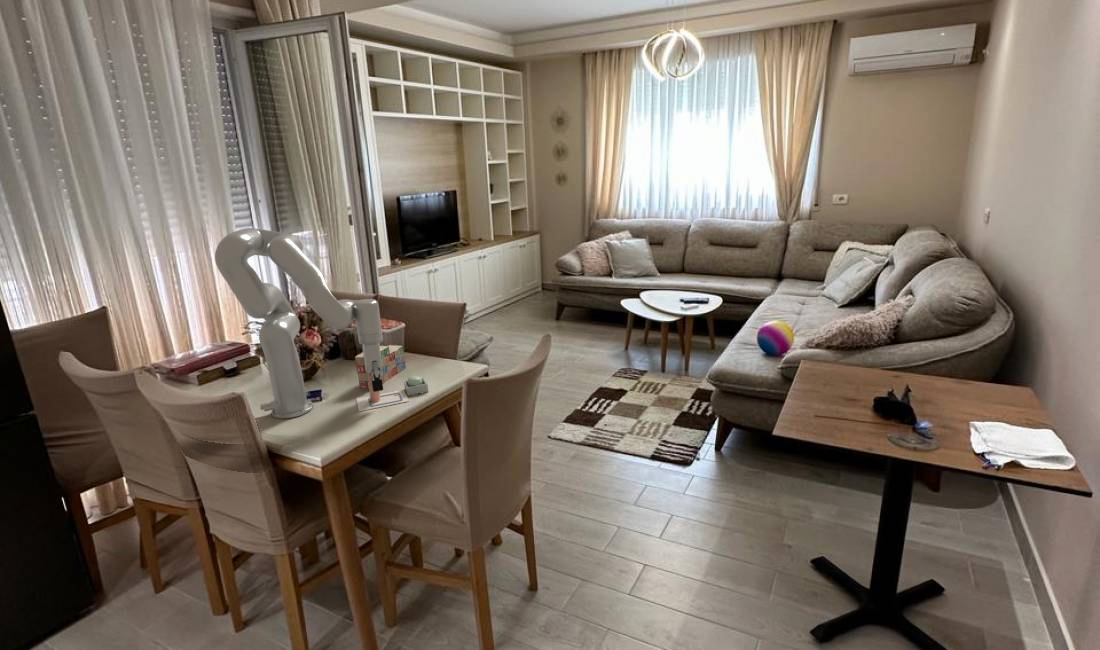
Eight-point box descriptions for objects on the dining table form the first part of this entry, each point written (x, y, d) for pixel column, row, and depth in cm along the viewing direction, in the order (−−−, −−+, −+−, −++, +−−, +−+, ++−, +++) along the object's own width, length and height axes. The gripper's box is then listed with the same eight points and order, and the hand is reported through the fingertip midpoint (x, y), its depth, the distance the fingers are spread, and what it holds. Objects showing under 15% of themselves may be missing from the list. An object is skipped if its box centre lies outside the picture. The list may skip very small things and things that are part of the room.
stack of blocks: (392, 367, 225) (387, 337, 222) (406, 368, 223) (402, 338, 220) (359, 388, 206) (354, 356, 202) (374, 389, 204) (369, 357, 200)
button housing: (407, 396, 196) (406, 387, 195) (404, 389, 202) (403, 381, 202) (428, 392, 199) (427, 384, 198) (424, 385, 205) (423, 377, 204)
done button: (410, 390, 197) (409, 381, 196) (407, 385, 201) (406, 377, 201) (424, 387, 199) (423, 379, 198) (421, 382, 203) (420, 374, 202)
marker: (370, 402, 191) (367, 369, 188) (369, 399, 194) (366, 367, 191) (381, 401, 192) (378, 368, 190) (379, 397, 195) (377, 365, 193)
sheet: (358, 411, 186) (358, 410, 186) (356, 399, 196) (356, 398, 196) (408, 401, 192) (408, 400, 191) (403, 390, 201) (403, 389, 201)
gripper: (356, 331, 194) (362, 379, 199) (360, 346, 178) (367, 397, 183) (379, 328, 197) (384, 375, 201) (385, 342, 181) (391, 392, 186)
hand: (376, 385), depth 192 cm, fingers open, 9 cm apart
